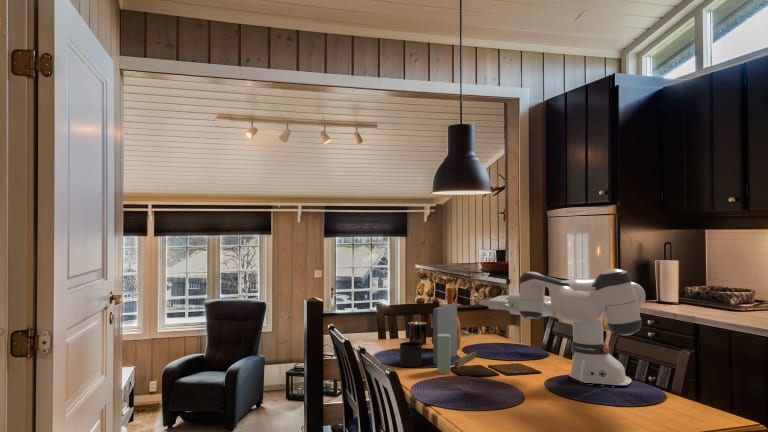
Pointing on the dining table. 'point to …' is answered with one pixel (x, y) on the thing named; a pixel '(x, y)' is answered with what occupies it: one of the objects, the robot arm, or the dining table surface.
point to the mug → (410, 354)
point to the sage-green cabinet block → (443, 353)
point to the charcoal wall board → (448, 332)
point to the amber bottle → (450, 300)
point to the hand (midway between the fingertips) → (482, 301)
